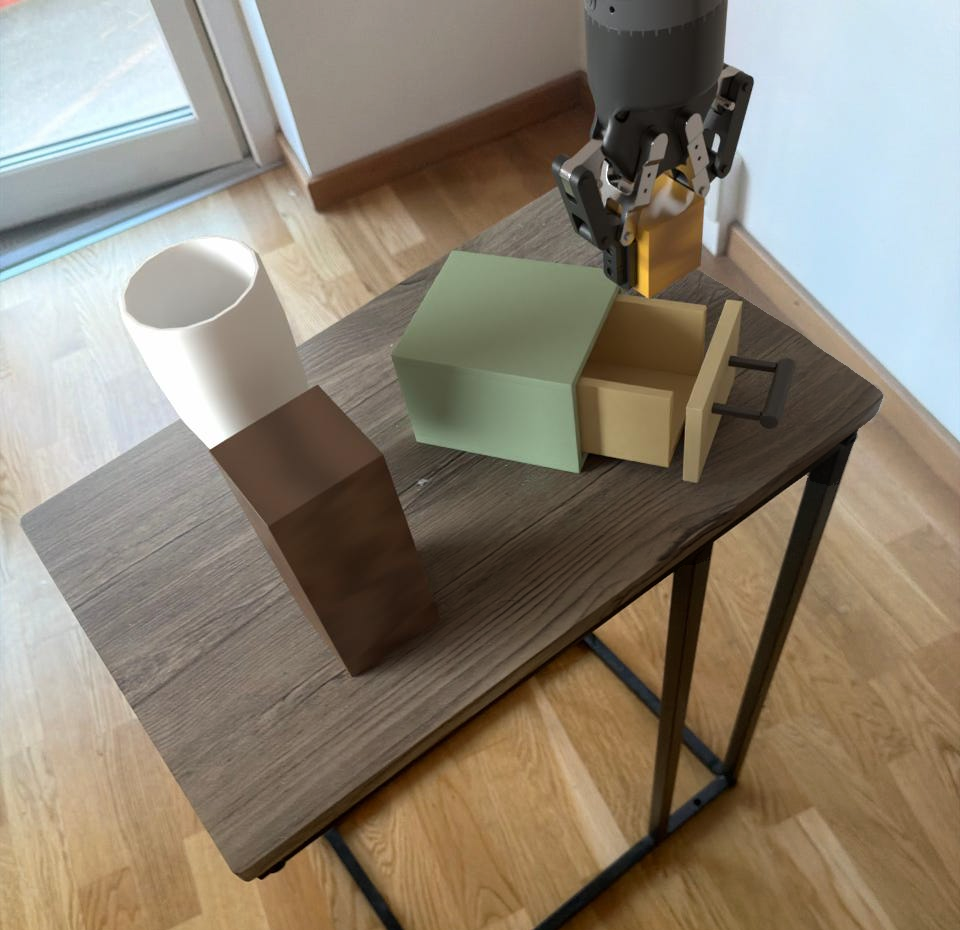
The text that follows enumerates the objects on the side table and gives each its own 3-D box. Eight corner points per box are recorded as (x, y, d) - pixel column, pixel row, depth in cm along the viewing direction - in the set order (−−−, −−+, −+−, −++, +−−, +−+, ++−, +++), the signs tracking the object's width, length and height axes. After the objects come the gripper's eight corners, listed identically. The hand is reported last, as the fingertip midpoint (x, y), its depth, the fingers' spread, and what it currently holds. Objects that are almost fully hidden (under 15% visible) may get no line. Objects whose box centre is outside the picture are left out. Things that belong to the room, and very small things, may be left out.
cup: (376, 506, 76) (291, 288, 58) (262, 567, 75) (139, 362, 57) (325, 431, 82) (233, 209, 64) (218, 486, 80) (93, 275, 62)
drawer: (795, 388, 75) (810, 309, 68) (762, 495, 70) (774, 422, 63) (577, 354, 81) (571, 279, 74) (533, 451, 76) (522, 379, 69)
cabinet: (626, 365, 80) (623, 270, 72) (579, 474, 75) (571, 385, 67) (471, 340, 85) (452, 249, 77) (416, 442, 79) (390, 355, 71)
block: (655, 236, 65) (656, 168, 61) (701, 266, 63) (705, 198, 58) (604, 267, 64) (601, 201, 60) (648, 299, 62) (648, 232, 58)
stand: (385, 552, 74) (317, 383, 59) (441, 617, 70) (383, 454, 55) (300, 608, 72) (207, 449, 57) (352, 678, 68) (267, 527, 53)
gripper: (593, 71, 45) (606, 344, 60) (809, -51, 48) (771, 238, 63) (503, 21, 49) (535, 290, 64) (709, -89, 52) (695, 192, 66)
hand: (653, 263), depth 63 cm, fingers closed on block, 4 cm apart
